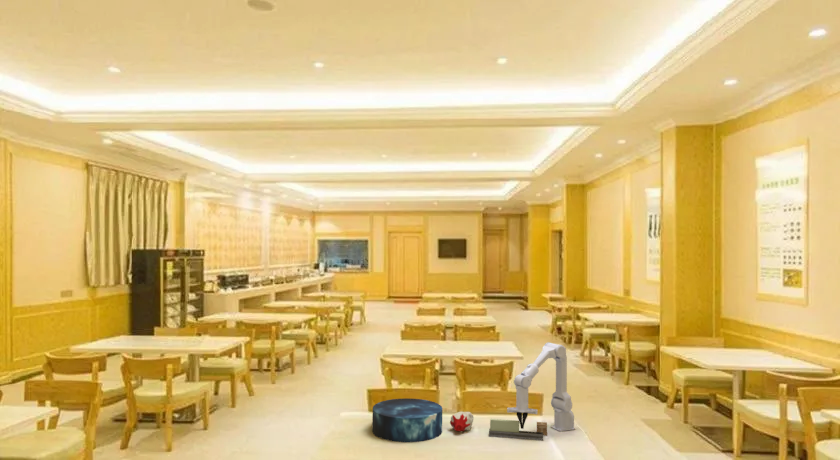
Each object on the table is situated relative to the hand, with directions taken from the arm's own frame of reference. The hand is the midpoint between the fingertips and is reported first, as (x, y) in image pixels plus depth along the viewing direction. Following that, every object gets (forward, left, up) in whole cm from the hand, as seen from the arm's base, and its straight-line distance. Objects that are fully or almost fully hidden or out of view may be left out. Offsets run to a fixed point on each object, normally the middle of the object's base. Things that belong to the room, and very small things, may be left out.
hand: (522, 428), depth 279 cm
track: (+2, -2, -4) cm, 5 cm away
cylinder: (+50, -27, -5) cm, 57 cm away
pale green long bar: (+7, -5, -3) cm, 9 cm away
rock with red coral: (+25, -18, -5) cm, 31 cm away
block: (-12, -2, -4) cm, 13 cm away
